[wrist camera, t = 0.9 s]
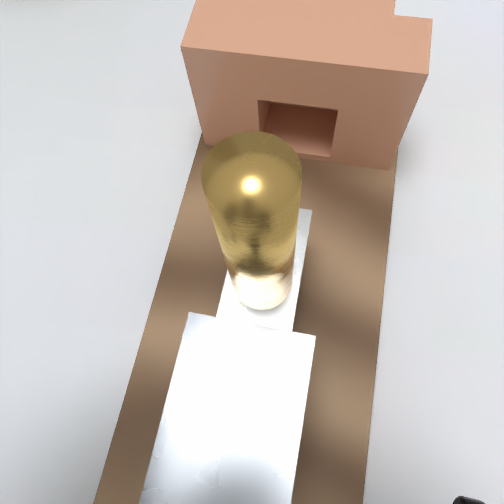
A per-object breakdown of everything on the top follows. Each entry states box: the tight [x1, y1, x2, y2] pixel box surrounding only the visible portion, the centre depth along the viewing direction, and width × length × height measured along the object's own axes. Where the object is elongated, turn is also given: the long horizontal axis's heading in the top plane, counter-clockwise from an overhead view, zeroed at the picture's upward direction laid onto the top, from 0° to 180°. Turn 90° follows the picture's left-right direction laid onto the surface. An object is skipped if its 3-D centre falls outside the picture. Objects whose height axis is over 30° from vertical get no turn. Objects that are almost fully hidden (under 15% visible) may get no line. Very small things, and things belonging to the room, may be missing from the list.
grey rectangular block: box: [139, 312, 316, 504], centre depth 17 cm, size 10×5×5 cm, turn 169°
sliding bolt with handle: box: [201, 131, 312, 331], centre depth 14 cm, size 14×3×11 cm, turn 169°
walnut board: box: [93, 134, 398, 504], centre depth 22 cm, size 28×11×1 cm, turn 169°
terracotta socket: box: [180, 0, 433, 170], centre depth 22 cm, size 5×10×7 cm, turn 78°
